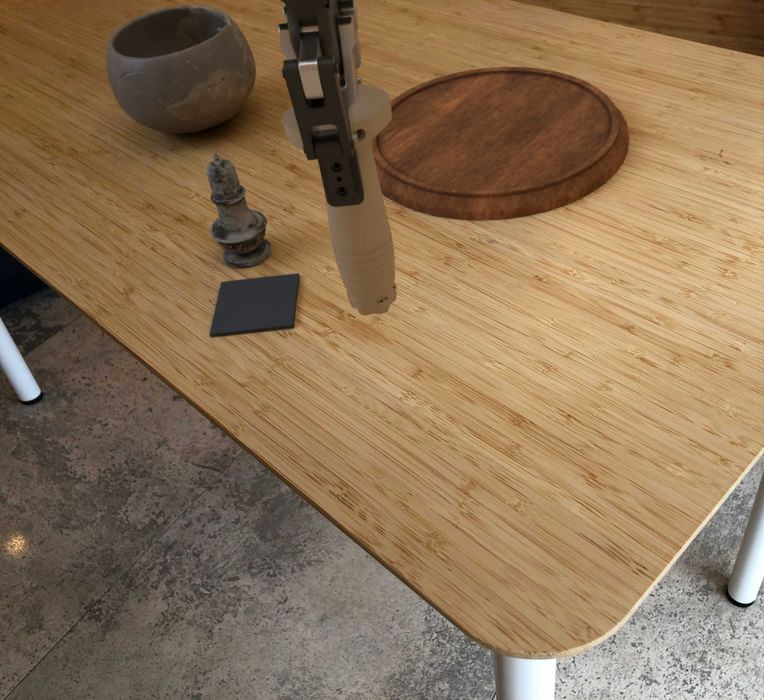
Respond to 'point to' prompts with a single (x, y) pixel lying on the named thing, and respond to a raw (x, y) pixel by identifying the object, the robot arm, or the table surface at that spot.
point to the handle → (362, 211)
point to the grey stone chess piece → (236, 218)
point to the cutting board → (498, 143)
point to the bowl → (180, 68)
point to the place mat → (255, 305)
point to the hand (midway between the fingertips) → (348, 174)
